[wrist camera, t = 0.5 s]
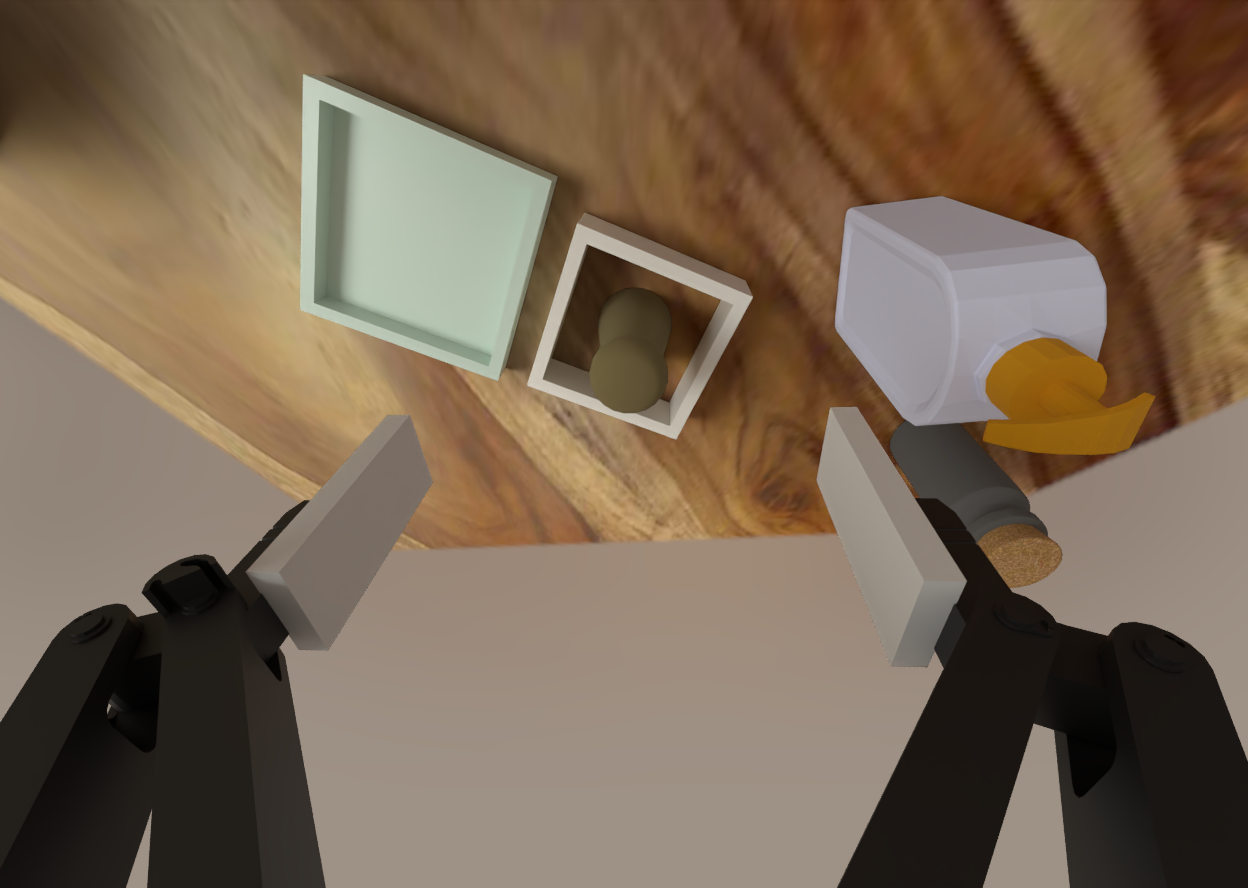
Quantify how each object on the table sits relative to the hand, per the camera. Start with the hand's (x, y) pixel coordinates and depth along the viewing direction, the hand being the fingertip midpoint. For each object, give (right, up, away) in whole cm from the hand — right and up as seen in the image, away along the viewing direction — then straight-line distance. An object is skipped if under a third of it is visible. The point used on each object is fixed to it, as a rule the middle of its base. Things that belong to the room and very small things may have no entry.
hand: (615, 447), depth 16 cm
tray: (-15, +15, +22) cm, 31 cm away
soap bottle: (+19, +13, +21) cm, 32 cm away
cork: (+1, +10, +25) cm, 27 cm away
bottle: (+27, +1, +29) cm, 40 cm away
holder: (+1, +10, +25) cm, 27 cm away
